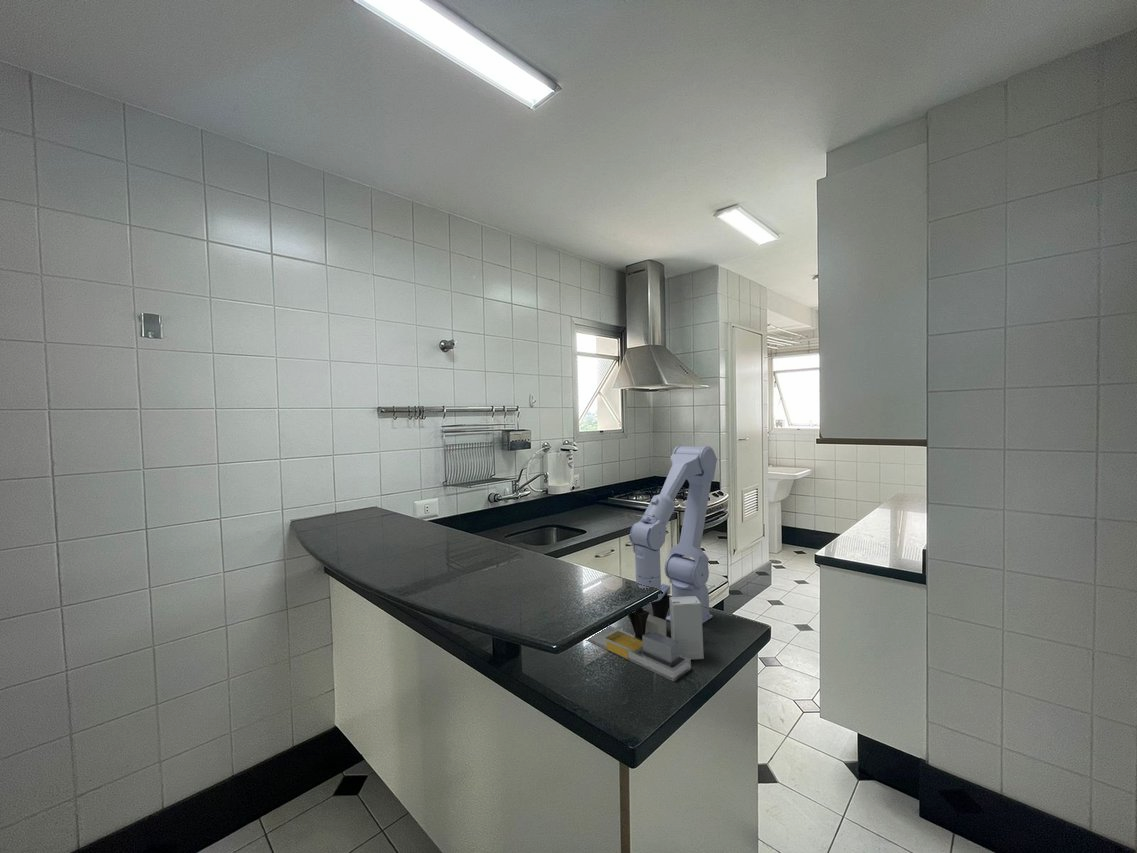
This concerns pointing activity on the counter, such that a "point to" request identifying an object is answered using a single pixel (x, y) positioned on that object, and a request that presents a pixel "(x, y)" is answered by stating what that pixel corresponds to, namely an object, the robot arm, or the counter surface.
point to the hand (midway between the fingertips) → (649, 632)
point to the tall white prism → (655, 625)
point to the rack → (645, 651)
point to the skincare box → (687, 625)
